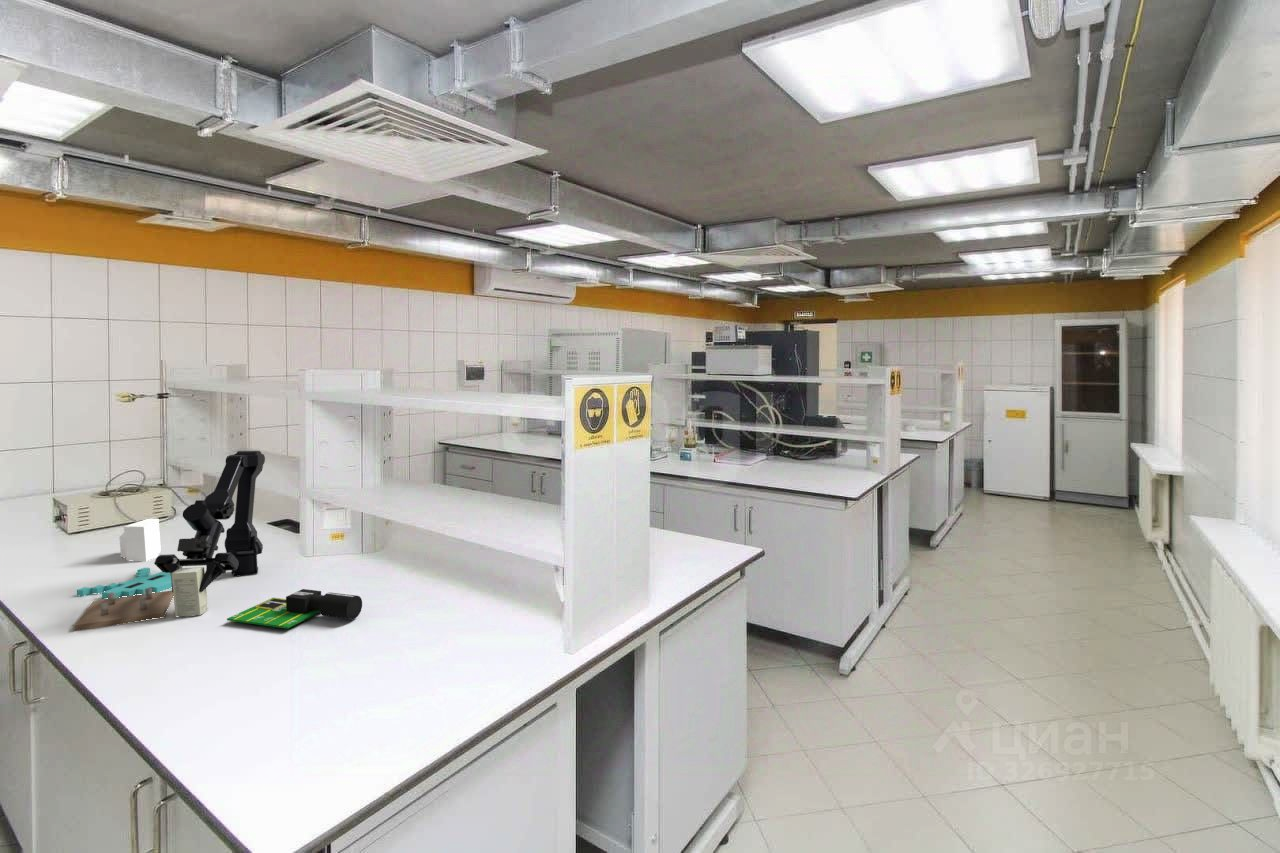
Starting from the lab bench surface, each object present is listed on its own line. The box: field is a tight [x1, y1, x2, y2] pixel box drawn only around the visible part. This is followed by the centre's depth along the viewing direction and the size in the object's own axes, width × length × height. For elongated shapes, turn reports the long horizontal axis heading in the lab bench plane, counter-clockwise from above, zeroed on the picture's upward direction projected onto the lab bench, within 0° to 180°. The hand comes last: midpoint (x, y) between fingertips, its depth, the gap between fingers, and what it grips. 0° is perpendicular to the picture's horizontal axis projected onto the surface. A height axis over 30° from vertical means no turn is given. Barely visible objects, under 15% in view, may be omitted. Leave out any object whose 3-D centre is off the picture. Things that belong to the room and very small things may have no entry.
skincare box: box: [171, 566, 209, 617], centre depth 169 cm, size 6×4×12 cm
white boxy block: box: [118, 518, 162, 562], centre depth 216 cm, size 11×11×12 cm
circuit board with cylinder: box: [226, 588, 363, 629], centre depth 166 cm, size 30×7×15 cm
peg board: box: [73, 588, 174, 632], centre depth 170 cm, size 18×18×4 cm
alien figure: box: [76, 567, 172, 598], centre depth 188 cm, size 20×2×20 cm
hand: (187, 591), depth 167 cm, fingers closed on skincare box, 6 cm apart
